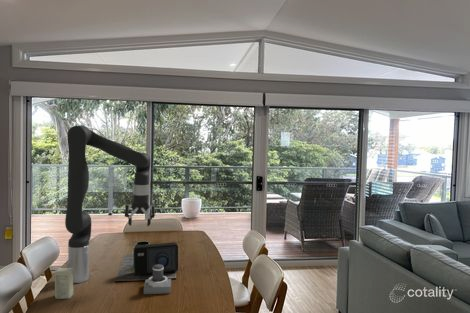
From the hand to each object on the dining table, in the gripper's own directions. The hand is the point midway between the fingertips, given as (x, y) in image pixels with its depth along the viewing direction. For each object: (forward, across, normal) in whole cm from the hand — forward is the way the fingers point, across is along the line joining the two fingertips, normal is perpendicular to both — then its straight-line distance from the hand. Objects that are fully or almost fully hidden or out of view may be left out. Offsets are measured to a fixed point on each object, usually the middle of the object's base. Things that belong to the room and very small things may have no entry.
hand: (139, 225), depth 172 cm
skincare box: (+28, -29, -18) cm, 44 cm away
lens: (+23, +11, -13) cm, 29 cm away
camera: (+27, +9, +6) cm, 29 cm away
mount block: (+26, +11, -13) cm, 32 cm away
